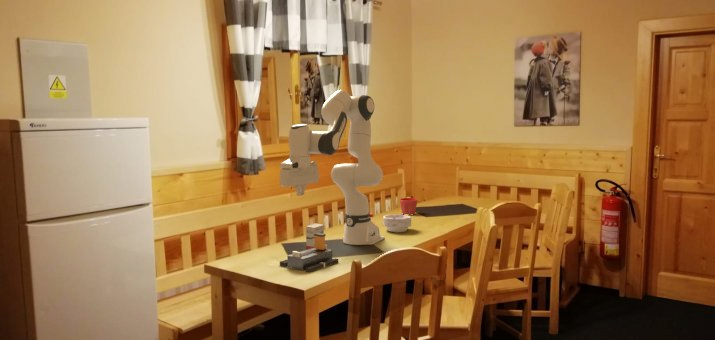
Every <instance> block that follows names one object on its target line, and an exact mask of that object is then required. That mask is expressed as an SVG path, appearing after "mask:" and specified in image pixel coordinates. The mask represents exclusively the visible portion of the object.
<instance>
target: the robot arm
mask: <svg viewBox="0 0 715 340" xmlns="http://www.w3.org/2000/svg"><path fill="white" fill-rule="evenodd" d="M374 111H375V102H374V99H373V98H372V97H371V96H369V95H366V94H362V95H353V96H351V94H350V93H349V92H348V91H346V90H344V89H340V90H339V89H338V90H336V91H335V92H333V94H331V95H330V96H329V97H328V98H327V100H326V101H325V102H324V103H323V104H322V107H321V109H320V114H321V117H322V120H323V121H324V122H325V123H326V124H328V125H329V126H331V127H330V129H329V130H327V131H313V130H311V129H310V128H309V126H308V124H305V123H299V124H293V125H291V126H290V128H289V133H288V147H289V154H288V157H289V158H288V159H286V160H284V161H283V162H281V163H279V167H280V172H279V184H280V187H282V188H289V187H293V188H294V190H295V192H296V196H297V197H299V196H304V195H305V191H306V188H307V185H309V184H315V183H319V182H320V173H319V169H318V163H317V162H316V161H314V160H313V161H311V154H313V155H326V156H333V155H334V154H335V153H336V152H337V151H338V149H339V146H340V143H341V139H342V137H343V134H344V131H345V129H346V127H347V123H348V120H349V121H350V125H349V131H348V139H347V142H348V143H347V151H348V153H349V155H350V156H353V157H354V158H356V159H357V162H358V163H357V162H356V163H350V162H349V163H348V162H344V163H340V164H339V163H338V164H335V165H334V166H333V167H332V168H331V172H330V177H331V180H332V183H334V184H335V185H337V186H338V187H339V188H340V190H341V192H342V194H343V196H344V200H345V201H344V203H345V213H344V214H345V215H344V221H345V223H344V227H343V228H344V230H343V237H342V239H341V240H342V243H343V244H346V245H352V246H354V245H355V246H362V245H365V246H366V245H374V244H377V243H378V242H380V241H382V240H384V239H385V236H384V235H381V234H380V228H379V226H378V225H377V224H375V223H374V222H373V221H372V219H371V218H374V217H375V215H374V213H373V212H372V213H371V212H369V198H368V197H367V195H365V194H364V193H362V192H361V191H359V190H358V187H373V186H379V184H381V182H382V181H383V179H384V173H383V169H382V168H381V166H380V165H378V164H377V163H376V162H375V160H374V159H373V157H372V151H371V143H372V142H371V138H372V125H371V118H372V115H373V113H374Z"/></svg>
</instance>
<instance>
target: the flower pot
mask: <svg viewBox="0 0 715 340" xmlns="http://www.w3.org/2000/svg"><path fill="white" fill-rule="evenodd" d="M399 202H400V204H399V205H400V209H401V213H403V214H416V210H417V205H418V199H417V198H416V197H415V198H414V197H403V198H400V199H399ZM403 214H402V215H403Z"/></svg>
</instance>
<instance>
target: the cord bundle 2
mask: <svg viewBox="0 0 715 340" xmlns="http://www.w3.org/2000/svg"><path fill="white" fill-rule="evenodd" d="M338 263H339V258H332V260H329V261H326V262H320V264H317V265H313V266H310V267H307V268H306V270H305V272H306V273H312V272H315V271H317V270H321V269H323V268H326V267H329V266H331V265H335V264H338Z"/></svg>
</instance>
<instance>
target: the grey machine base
mask: <svg viewBox="0 0 715 340" xmlns="http://www.w3.org/2000/svg"><path fill="white" fill-rule="evenodd" d="M286 257H287V258H286V259H287V261H288V266H287V268H288V269H294V270H296V271H297V270H298V271H301V272H304V271H305V272H306V268H307V267H310V266H313V265H317V264H320V262H326V261H329V260H332V259H333V249H330V248H328V244H325V249H324V250H320V249H315V248H312V249H308V250H302V251H297V250H293V251H292V254H288V255H287V256H286Z"/></svg>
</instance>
